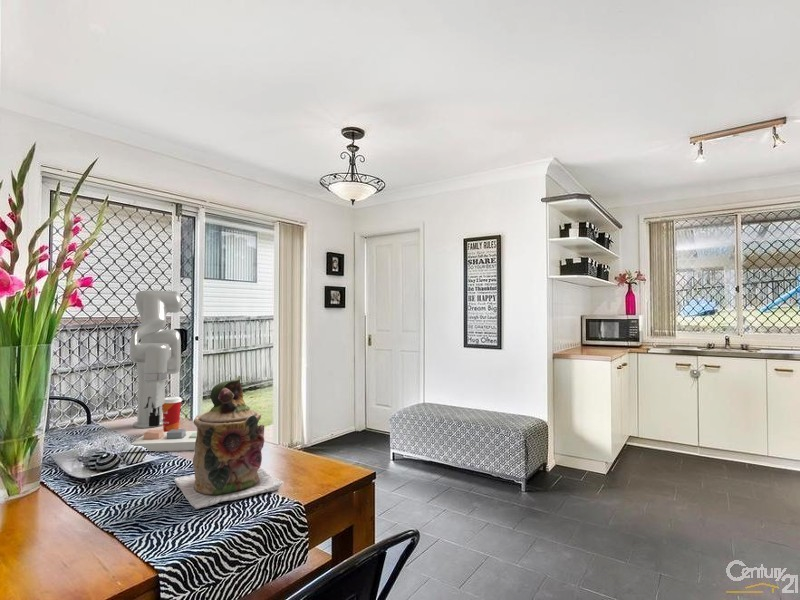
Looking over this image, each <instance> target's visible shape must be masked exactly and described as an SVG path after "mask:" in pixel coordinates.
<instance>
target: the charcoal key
mask: <svg viewBox="0 0 800 600" xmlns="http://www.w3.org/2000/svg"><path fill="white" fill-rule="evenodd" d="M186 431H187V429H186V428H179V429H171V430H170V431H169V432H167V439H182V438H183V437H184V436H185V435H186Z"/></svg>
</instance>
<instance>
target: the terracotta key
mask: <svg viewBox="0 0 800 600" xmlns="http://www.w3.org/2000/svg"><path fill="white" fill-rule="evenodd" d="M143 435H144V440H154V439H160V438H161V437H163V435H164V430H163V429H148V430H147V431H146V432H144V433H143Z"/></svg>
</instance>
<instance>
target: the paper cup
mask: <svg viewBox="0 0 800 600" xmlns="http://www.w3.org/2000/svg"><path fill="white" fill-rule="evenodd" d="M182 402H183V400H182V397H180V396H171V397H170V396H168V397H165V402H164V404H163V405H162V419H163V425H162V427H163V429H162V430H164V432H169V431H170V430H171V429H180V428H179V427H180V418H181V407H182Z"/></svg>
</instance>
